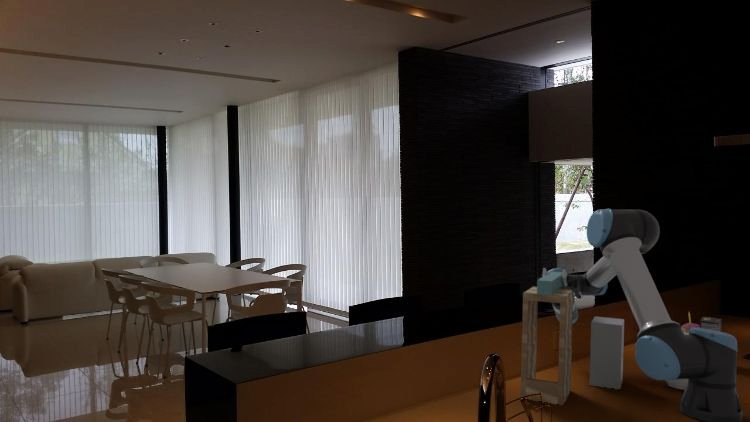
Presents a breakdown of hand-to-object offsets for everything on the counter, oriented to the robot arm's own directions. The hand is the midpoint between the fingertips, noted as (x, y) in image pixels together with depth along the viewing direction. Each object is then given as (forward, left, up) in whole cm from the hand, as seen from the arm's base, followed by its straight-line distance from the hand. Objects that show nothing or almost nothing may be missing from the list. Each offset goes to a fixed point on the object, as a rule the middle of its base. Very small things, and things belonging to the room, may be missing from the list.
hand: (553, 272), depth 190 cm
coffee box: (+29, -67, -36) cm, 81 cm away
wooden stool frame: (-8, +4, -36) cm, 37 cm away
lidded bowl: (+2, -42, -36) cm, 55 cm away
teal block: (-4, +2, -5) cm, 6 cm away
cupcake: (+66, -81, -36) cm, 110 cm away
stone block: (+5, -19, -36) cm, 41 cm away
